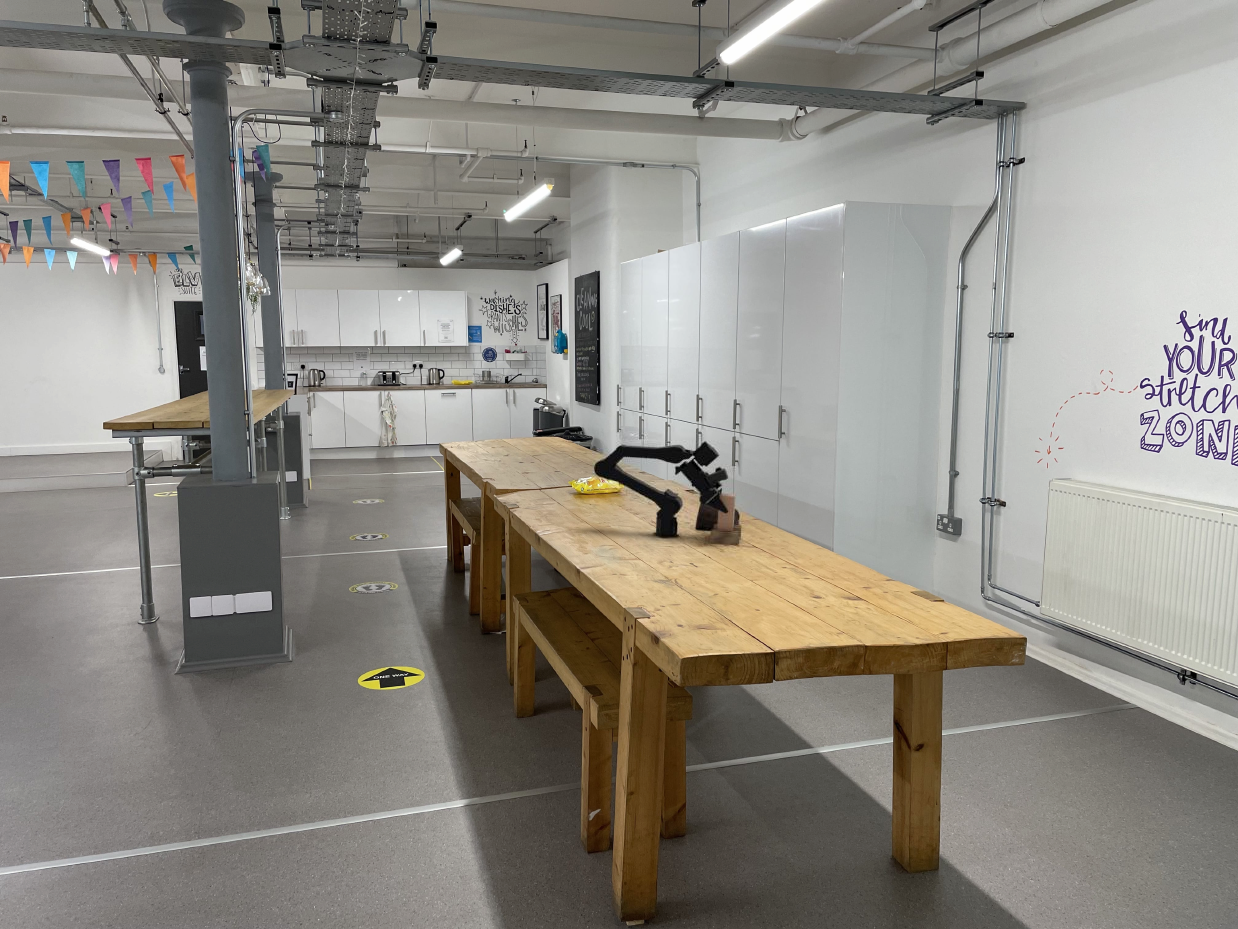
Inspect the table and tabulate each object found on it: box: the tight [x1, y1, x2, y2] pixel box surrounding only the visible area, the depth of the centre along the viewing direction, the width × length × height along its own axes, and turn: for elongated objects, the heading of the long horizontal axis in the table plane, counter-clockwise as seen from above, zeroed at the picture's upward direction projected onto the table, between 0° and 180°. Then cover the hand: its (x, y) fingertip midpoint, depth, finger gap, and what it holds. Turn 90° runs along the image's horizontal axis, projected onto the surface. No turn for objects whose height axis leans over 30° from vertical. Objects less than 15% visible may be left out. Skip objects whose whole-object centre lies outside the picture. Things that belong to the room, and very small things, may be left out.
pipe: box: [695, 502, 741, 530], centre depth 305 cm, size 10×15×15 cm
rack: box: [709, 524, 742, 546], centre depth 285 cm, size 9×13×4 cm
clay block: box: [717, 493, 736, 531], centre depth 284 cm, size 5×4×12 cm
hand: (727, 511), depth 284 cm, fingers closed on clay block, 4 cm apart
